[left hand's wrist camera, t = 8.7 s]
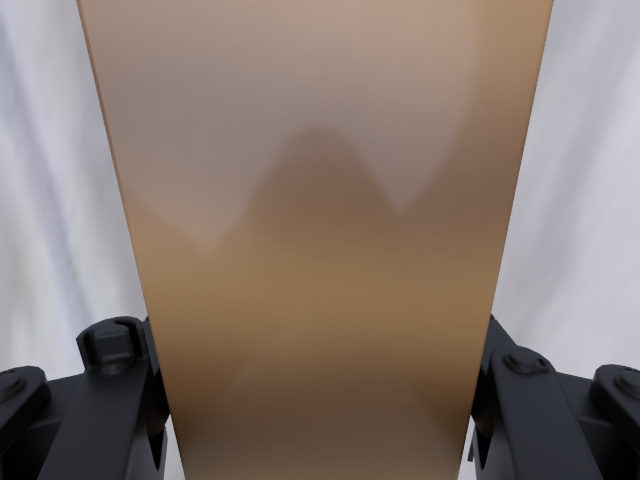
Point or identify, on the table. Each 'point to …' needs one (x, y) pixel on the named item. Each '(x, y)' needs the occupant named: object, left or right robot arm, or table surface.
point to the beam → (317, 218)
